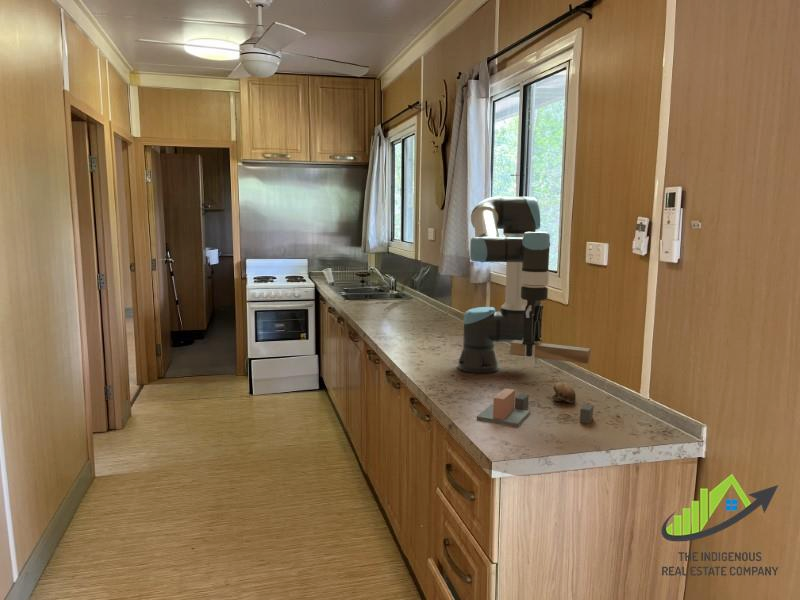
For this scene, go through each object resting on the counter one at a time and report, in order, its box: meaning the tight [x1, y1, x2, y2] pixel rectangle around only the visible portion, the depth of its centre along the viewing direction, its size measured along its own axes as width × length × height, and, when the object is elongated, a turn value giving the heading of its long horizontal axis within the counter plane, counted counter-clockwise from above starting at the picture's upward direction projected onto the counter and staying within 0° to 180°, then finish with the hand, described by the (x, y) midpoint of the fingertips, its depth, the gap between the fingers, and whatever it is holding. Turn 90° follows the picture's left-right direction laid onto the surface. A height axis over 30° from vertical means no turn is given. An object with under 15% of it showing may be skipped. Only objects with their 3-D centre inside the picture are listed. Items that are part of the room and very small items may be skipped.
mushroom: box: [551, 381, 577, 404], centre depth 178 cm, size 8×8×6 cm
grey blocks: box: [514, 393, 594, 425], centre depth 166 cm, size 5×22×4 cm, turn 61°
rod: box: [509, 340, 591, 365], centre depth 163 cm, size 4×22×4 cm, turn 62°
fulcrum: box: [476, 387, 531, 428], centre depth 164 cm, size 12×12×7 cm
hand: (531, 364), depth 166 cm, fingers closed on rod, 4 cm apart
